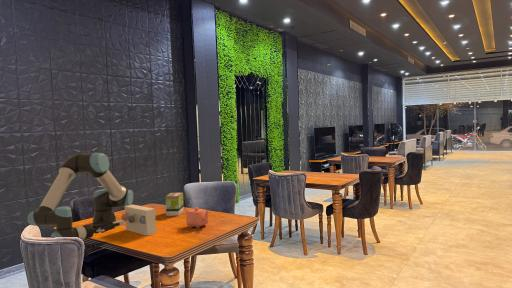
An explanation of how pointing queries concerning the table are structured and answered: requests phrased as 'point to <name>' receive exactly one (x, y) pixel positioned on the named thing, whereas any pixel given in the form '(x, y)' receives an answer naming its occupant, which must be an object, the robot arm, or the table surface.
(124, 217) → the terracotta button
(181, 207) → the tea box
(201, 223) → the teapot
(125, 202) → the robot arm
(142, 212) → the button panel
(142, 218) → the dark grey button
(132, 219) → the grey button
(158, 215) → the table surface
